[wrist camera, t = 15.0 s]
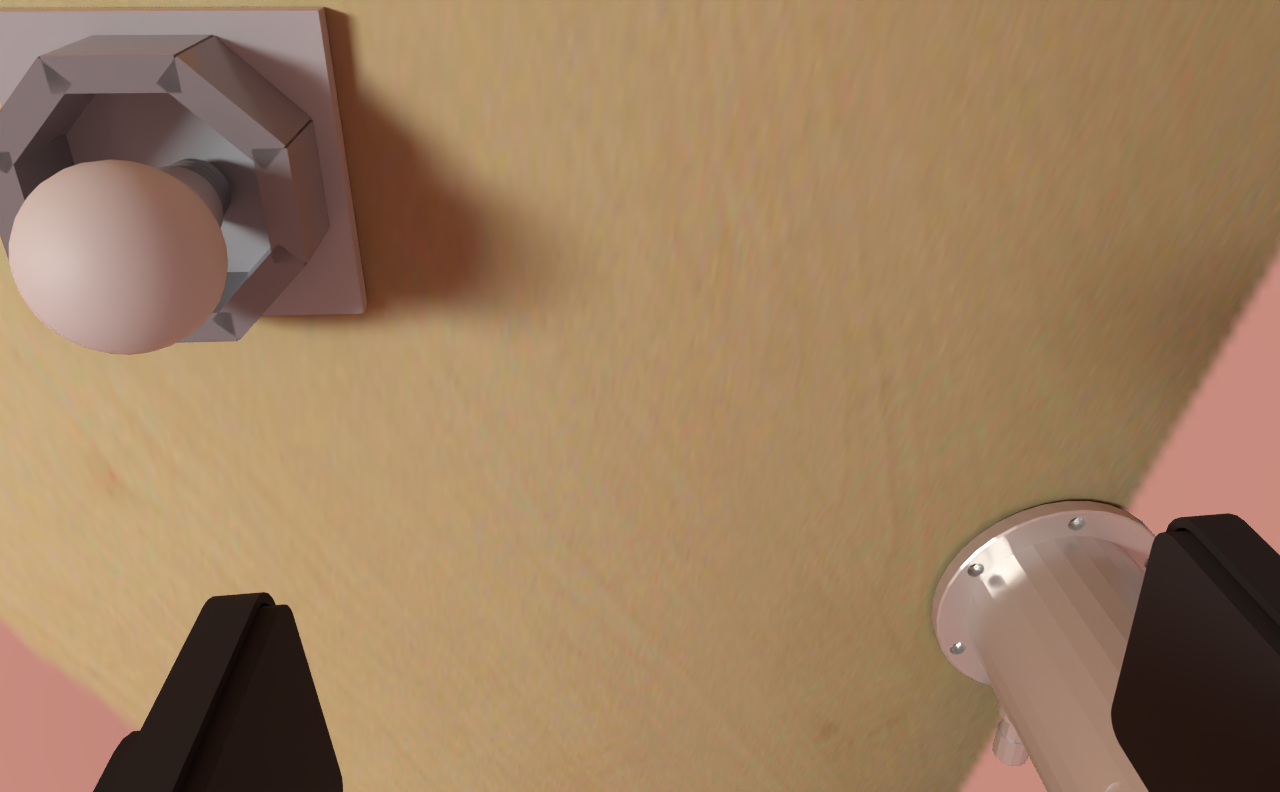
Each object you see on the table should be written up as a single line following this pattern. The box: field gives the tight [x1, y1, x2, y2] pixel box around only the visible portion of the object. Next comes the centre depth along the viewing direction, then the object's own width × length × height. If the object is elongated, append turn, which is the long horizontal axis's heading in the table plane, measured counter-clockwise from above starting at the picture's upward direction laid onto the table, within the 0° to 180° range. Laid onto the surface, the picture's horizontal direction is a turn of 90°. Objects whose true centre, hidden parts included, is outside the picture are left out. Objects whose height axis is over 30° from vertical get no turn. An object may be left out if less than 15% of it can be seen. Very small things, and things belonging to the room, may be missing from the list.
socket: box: [0, 7, 367, 343], centre depth 36 cm, size 12×12×5 cm
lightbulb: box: [9, 158, 231, 355], centre depth 33 cm, size 6×6×11 cm
